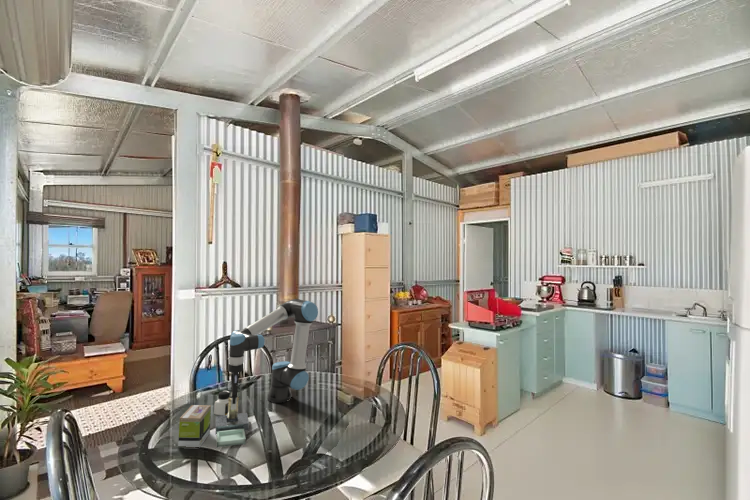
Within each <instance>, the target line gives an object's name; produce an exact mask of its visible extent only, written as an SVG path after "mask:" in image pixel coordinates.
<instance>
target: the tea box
mask: <svg viewBox="0 0 750 500" xmlns="http://www.w3.org/2000/svg"><path fill="white" fill-rule="evenodd" d="M211 411H212V405H210V404H203V405H201V404H191V405H190V406H189V408H188V409H187V410H185V412H184V413H183V414H182V415H181V416H180V417H179V420H178V422H179V423H178V439H177V440H178V442H177V447H178V446H186V447H199V448H201V446H202V445H201V444H204V442H205V440H206V439H207V438H208V436H209V435H210V433H211V419H212V418H211V416H212V415H211V414H212V412H211ZM206 437H207V438H206ZM203 441H204V442H203ZM200 445H201V446H200Z"/></svg>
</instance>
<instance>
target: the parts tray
mask: <svg viewBox="0 0 750 500" xmlns="http://www.w3.org/2000/svg"><path fill="white" fill-rule="evenodd" d="M239 445H246V431H244V428H243V429H235V430H226V431H218V432H217V435H216V448H223V447H230V446H239Z"/></svg>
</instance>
